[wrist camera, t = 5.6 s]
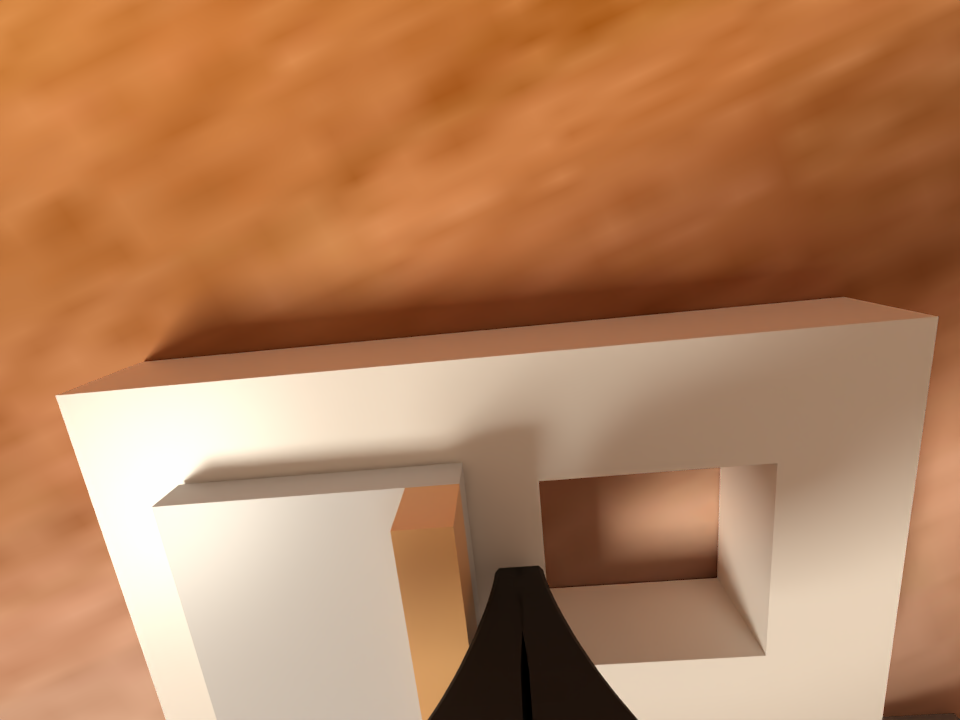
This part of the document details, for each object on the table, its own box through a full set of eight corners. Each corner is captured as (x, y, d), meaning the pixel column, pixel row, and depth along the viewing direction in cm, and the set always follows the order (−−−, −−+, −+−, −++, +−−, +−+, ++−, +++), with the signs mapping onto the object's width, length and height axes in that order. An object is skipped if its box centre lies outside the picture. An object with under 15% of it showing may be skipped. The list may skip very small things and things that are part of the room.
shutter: (490, 694, 14) (489, 800, 11) (242, 707, 14) (187, 813, 12) (462, 462, 12) (453, 526, 9) (178, 484, 12) (96, 552, 10)
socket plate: (812, 652, 17) (878, 742, 14) (234, 684, 18) (184, 773, 15) (844, 296, 14) (938, 316, 11) (142, 362, 15) (55, 395, 12)
